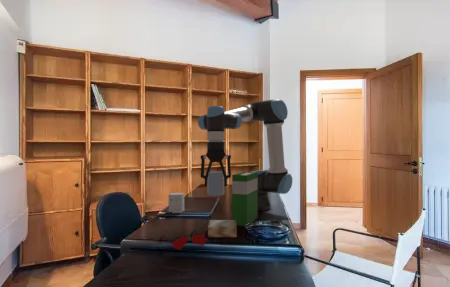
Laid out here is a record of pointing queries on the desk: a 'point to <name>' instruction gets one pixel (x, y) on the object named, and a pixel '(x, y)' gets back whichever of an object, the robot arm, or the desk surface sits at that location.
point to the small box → (176, 202)
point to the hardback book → (244, 198)
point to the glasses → (183, 240)
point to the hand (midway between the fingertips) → (216, 193)
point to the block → (215, 183)
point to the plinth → (222, 228)
